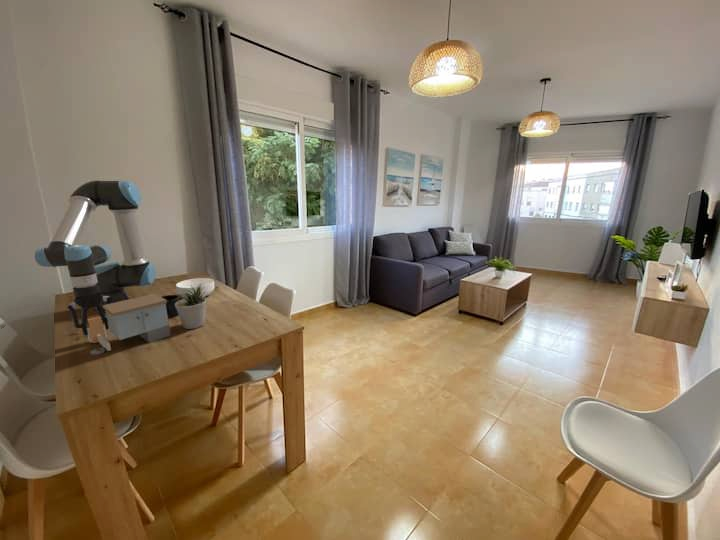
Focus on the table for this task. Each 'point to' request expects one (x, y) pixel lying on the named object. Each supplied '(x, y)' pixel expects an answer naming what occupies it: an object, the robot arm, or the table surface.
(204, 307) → the potted plant
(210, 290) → the bowl
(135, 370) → the table surface
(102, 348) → the token
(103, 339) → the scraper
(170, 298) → the mug
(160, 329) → the cabinet
